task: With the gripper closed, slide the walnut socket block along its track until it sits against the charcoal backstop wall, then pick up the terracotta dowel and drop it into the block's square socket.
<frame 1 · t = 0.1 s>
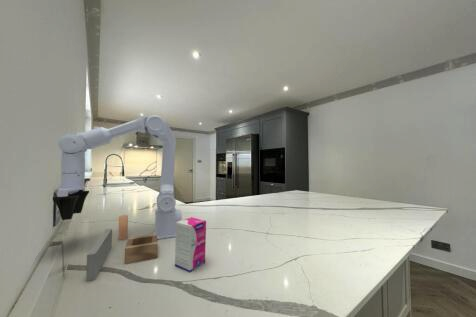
hand: (72, 216, 60), 10 cm above the counter, tool pointing down, fingers open, 7 cm apart
socket block: (142, 247, 55), point 2 cm above the counter, slide at 0.0 cm
backstop wall: (101, 262, 51), on the counter
supplement box: (190, 265, 50), on the counter
dowel: (123, 238, 67), on the counter
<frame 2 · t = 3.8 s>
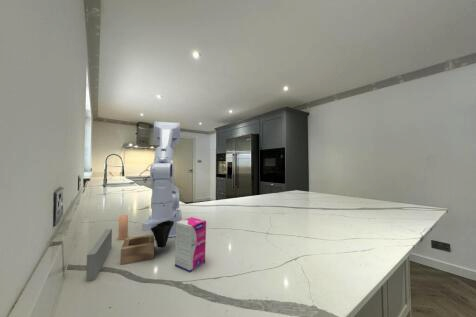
hand: (161, 246, 57), 1 cm above the counter, tool pointing down, fingers closed
socket block: (139, 248, 55), point 2 cm above the counter, slide at 0.9 cm, touching gripper
everything else where it was.
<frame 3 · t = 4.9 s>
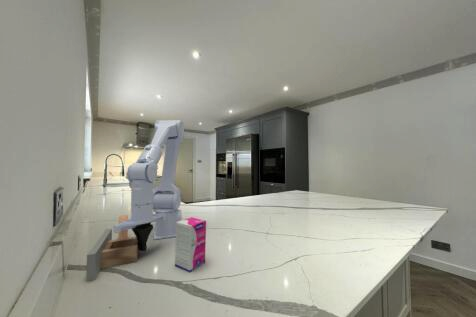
hand: (142, 250, 55), 1 cm above the counter, tool pointing down, fingers closed, pressing on socket block
socket block: (121, 250, 53), point 2 cm above the counter, slide at 5.2 cm, touching backstop wall, gripper
everything else where it was.
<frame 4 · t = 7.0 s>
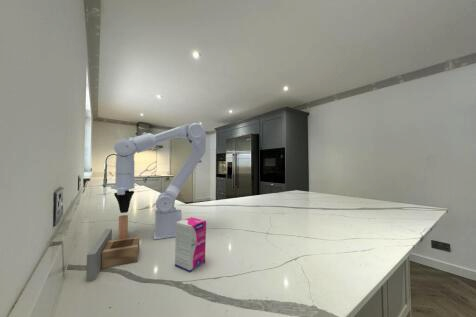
hand: (124, 212, 66), 9 cm above the counter, tool pointing down, fingers closed
socket block: (122, 250, 53), point 2 cm above the counter, slide at 5.0 cm
everything else where it was.
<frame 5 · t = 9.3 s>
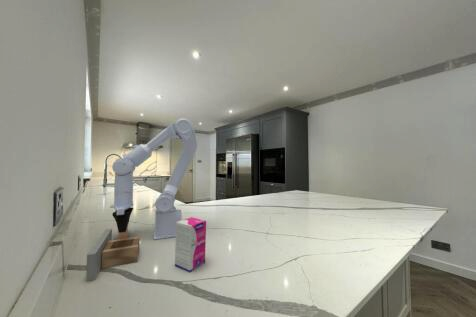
hand: (123, 230, 67), 3 cm above the counter, tool pointing down, fingers closed on dowel, 3 cm apart
dowel: (123, 238, 67), on the counter, touching gripper
everything else where it was.
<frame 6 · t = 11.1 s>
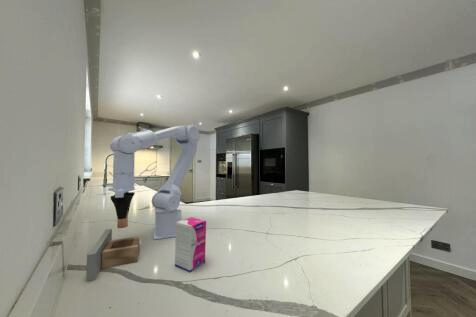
hand: (123, 217, 59), 10 cm above the counter, tool pointing down, fingers closed on dowel, 3 cm apart
dowel: (122, 226, 59), point 7 cm above the counter, touching gripper
everything else where it was.
when the fingers open (5 cm above the counter, at t = 13.2 s): dowel drops 2 cm, resting in socket block.
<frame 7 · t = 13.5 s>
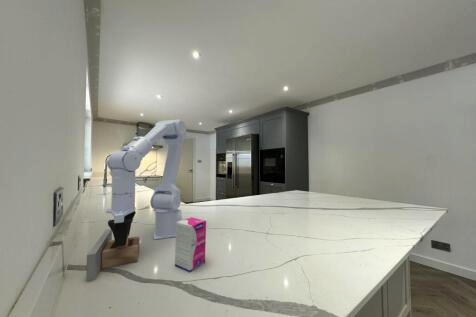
hand: (122, 241, 53), 5 cm above the counter, tool pointing down, fingers open, 5 cm apart
dowel: (122, 258, 53), resting in socket block
everything else where it was.
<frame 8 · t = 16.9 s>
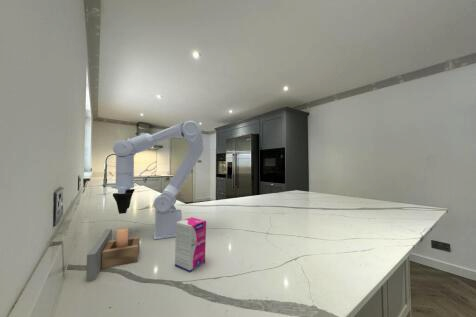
hand: (124, 210, 69), 9 cm above the counter, tool pointing down, fingers open, 7 cm apart
nothing on the counter moved.
at the end: socket block slide at 5.0 cm; dowel 0.1 cm from the target spot, resting in socket block; the gripper is holding nothing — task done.
